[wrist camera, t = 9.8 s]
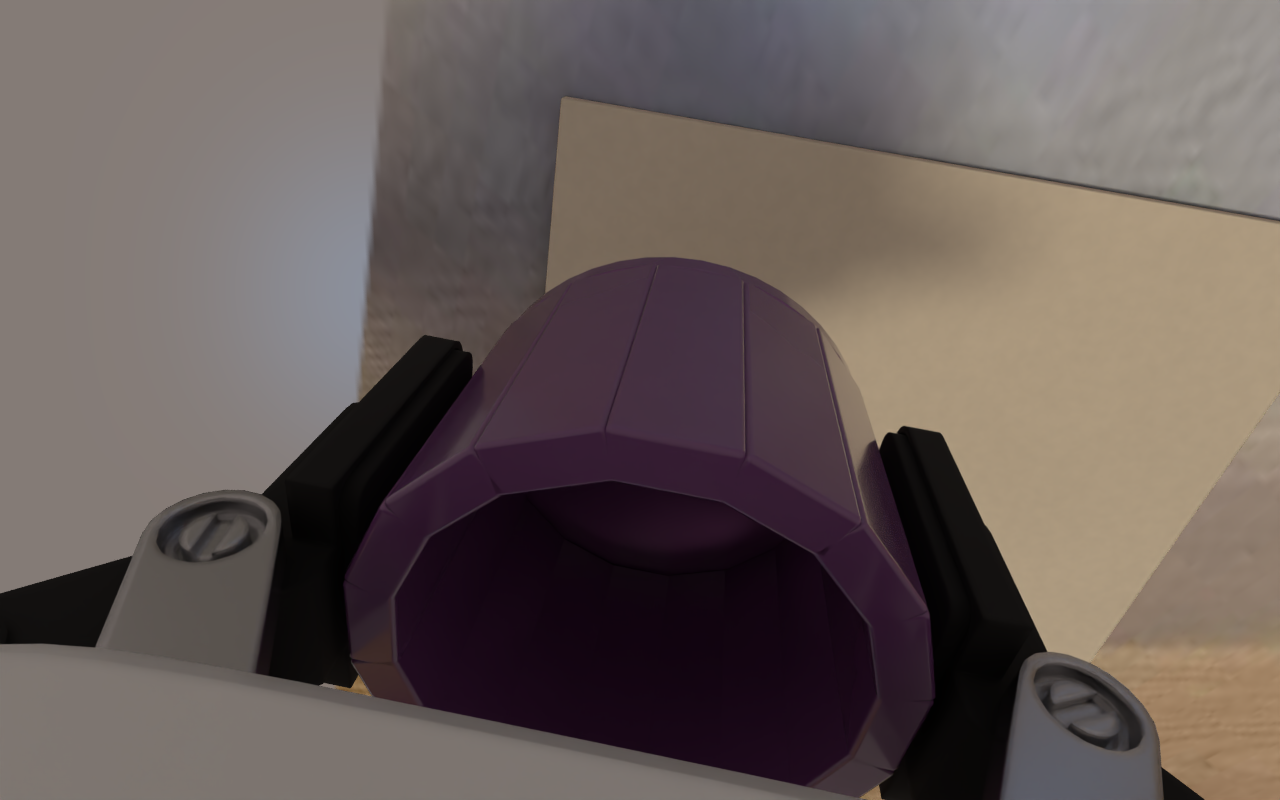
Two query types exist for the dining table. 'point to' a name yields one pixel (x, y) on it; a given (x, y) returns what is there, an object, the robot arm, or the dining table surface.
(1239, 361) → the placemat
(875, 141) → the dining table surface
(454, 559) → the purple cup
